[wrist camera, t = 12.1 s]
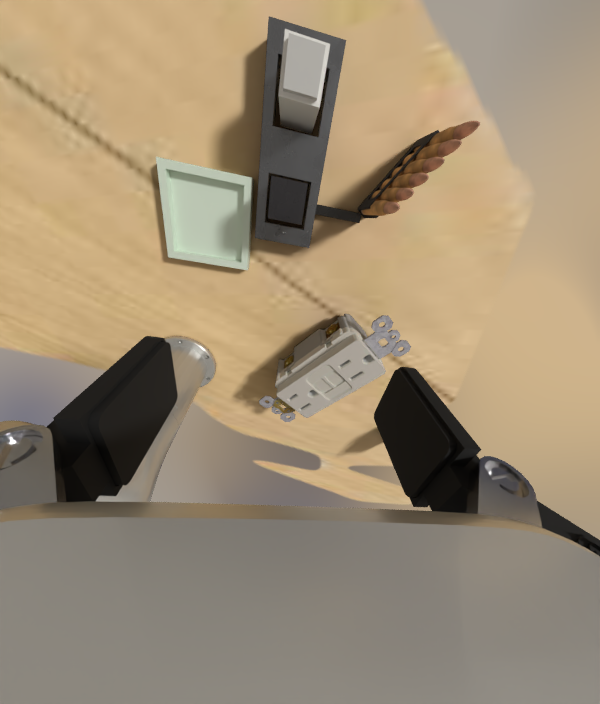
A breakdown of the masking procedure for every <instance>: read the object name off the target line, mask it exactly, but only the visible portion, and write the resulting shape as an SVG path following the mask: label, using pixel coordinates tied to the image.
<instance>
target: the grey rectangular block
mask: <svg viewBox="0 0 600 704" xmlns="http://www.w3.org/2000/svg"><path fill="white" fill-rule="evenodd" d="M329 49H330V44H329V43H326V42H323V41H320V40H317V39H314V38H311V37H308V36H305V35H302V34H299V33H296V32H293V31H290V30H287V29H285V34H284V44H283V54H282V64H281V74H280V84H279V95H278V97H279V109H280V121H281V126H283V127H287V128H290V129H294V130H297V131H301V132H305V133H308V134H312V131H313V128H314V124H315V121H316V118H317V115H318V112H319V108H320V103H321V97H322V91H323V85H324V79H325V73H326V67H327V61H328V55H329Z"/></svg>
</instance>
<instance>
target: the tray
mask: <svg viewBox="0 0 600 704" xmlns="http://www.w3.org/2000/svg"><path fill="white" fill-rule="evenodd" d="M156 162H157V171H158V179H159V187H160V195H161V203H162V211H163V219H164V227H165V236H166V244H167V252H168V257H170V258H176V259H182V260H188V261H194V262H200V263H206V264H212V265H218V266H224V267H230V268H236V269H242V270H248V269H249V261H250V243H251V224H252V205H253V186H254V179H253V178H251V177H247V176H242V175H238V174H233V173H228V172H224V171H219V170H215V169H210V168H205V167H201V166H196V165H192V164H187V163H182V162H178V161H173V160H169V159H164V158H160V157H156Z"/></svg>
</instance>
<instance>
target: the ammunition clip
mask: <svg viewBox="0 0 600 704" xmlns="http://www.w3.org/2000/svg"><path fill="white" fill-rule="evenodd" d="M479 125H480V122H478V121H469V122H466V123H463V124H461V125H458V126H455V127H450V128H448V129H446V130H444V131H442V132H440V133H439V131H438V130H437V131H435V132H433V133H431V134H429V135H427V136H425V137H423V138H421V139H419V140H417V142H416V143H415V144H414V145H413V146H412V147H411V148H410V150H409V151H408V152H407V153H406V154H405V155H404V156H403V157H402V159H401V160H400V161H399V162H398V163H397V164H396V165H395V166H394V168H393V169H392V170H391V171H390V172H389V173H388V174H387V175H386V177H385V178H384V179H383V180H382V181H381V182H380V183H379V185H378V186H377V187H376V188H375V189H374V190H373V191H372V192H371V194H370V195H369V196H368V197H367V198H366V199H365V200H364V201H363V203H362V204H361V205H360V206H359V207H358V211H359V212H360V213H361V214H362V216H363V217H364V218H377V217H378V216H383V215H386V214H391V213H395V212H396V211H398V210H399V208H400V206H399V204H398V203H397V202H399V201H402V200H406V199H408V198H410V197H411V196H412V195H413V194H414V191H413V190H412V189H411V188H413V187H416V186H419V185H421V184H423V183H424V182H426V181H427V180H428V178H429V176H428V175H427V174H426V173H429V172H431V171H433V170H435V169H437V168H439V167H440V166H441V165H442V164H443V163H444V159H443V158H442V157H444V156H447V155H449V154H450V153H452V152H454V151H455V150H456V149H457V148H458V147H459V146H460V145H461V143H462V142H461V141H460V140H461V139H463V138H465V137H467V136H468V135H470V134H471V133H473V132H474V131H475V130H476V129H477V128H478V126H479Z"/></svg>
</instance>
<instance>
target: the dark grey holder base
mask: <svg viewBox="0 0 600 704" xmlns="http://www.w3.org/2000/svg"><path fill="white" fill-rule="evenodd" d="M285 29H287V30H290V31H293V32H296V33H299V34H302V35H305V36H308V37H311V38H314V39H317V40H320V41H323V42H326V43H329V44H330V49H329V55H328V61H327V67H326V73H325V79H324V82H326V84H325V91H324V97H323V103H322V110H321V116H320V122H319V129H318V135H317V137H315V136H311V135H307V134H303V133H299V132H295V131H291V130H287V129H283V128H279V127H275V126H274V124H275V112H276V100H277V88H278V76H279V69H281V64H282V54H283V44H284V34H285ZM345 43H346V40H343V39H340V38H337V37H334V36H330V35H327V34H324V33H321V32H318V31H314V30H311V29H308V28H305V27H302V26H298V25H295V24H292V23H289V22H285V21H282V20H279V19H276V18H273V17H269V21H268V37H267V53H266V69H265V85H264V101H263V118H262V134H261V150H260V166H259V182H258V198H257V214H256V230H255V238H258V239H263V240H269V241H274V242H280V243H285V244H291V245H296V246H301V247H307V248H309V246H310V240H311V235H312V229H313V223H314V218H315V214H317V215H322V216H327V217H332V218H337V219H342V220H347V221H352V222H356V223H359V222H360V218H361V214H360V213H355V212H351V211H346V210H341V209H336V208H332V207H327V206H322V205H317V201H318V195H319V190H320V184H321V178H322V173H323V167H324V161H325V156H326V150H327V145H328V139H329V133H330V128H331V122H332V117H333V111H334V105H335V100H336V94H337V88H338V83H339V77H340V72H341V66H342V60H343V55H344V49H345ZM270 176H271V186H270V198H269V209H268V197H269V185H270ZM308 184H310V186H309V192H308V198H307V205H306V211H305V217H304V224H303V228H298V227H292V226H287V225H282V224H277V223H272V222H267V209H268V218H269V219H274V220H279V221H285V222H290V223H295V224H300V225H302V218H303V212H304V205H305V199H306V192H307V186H308Z"/></svg>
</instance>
